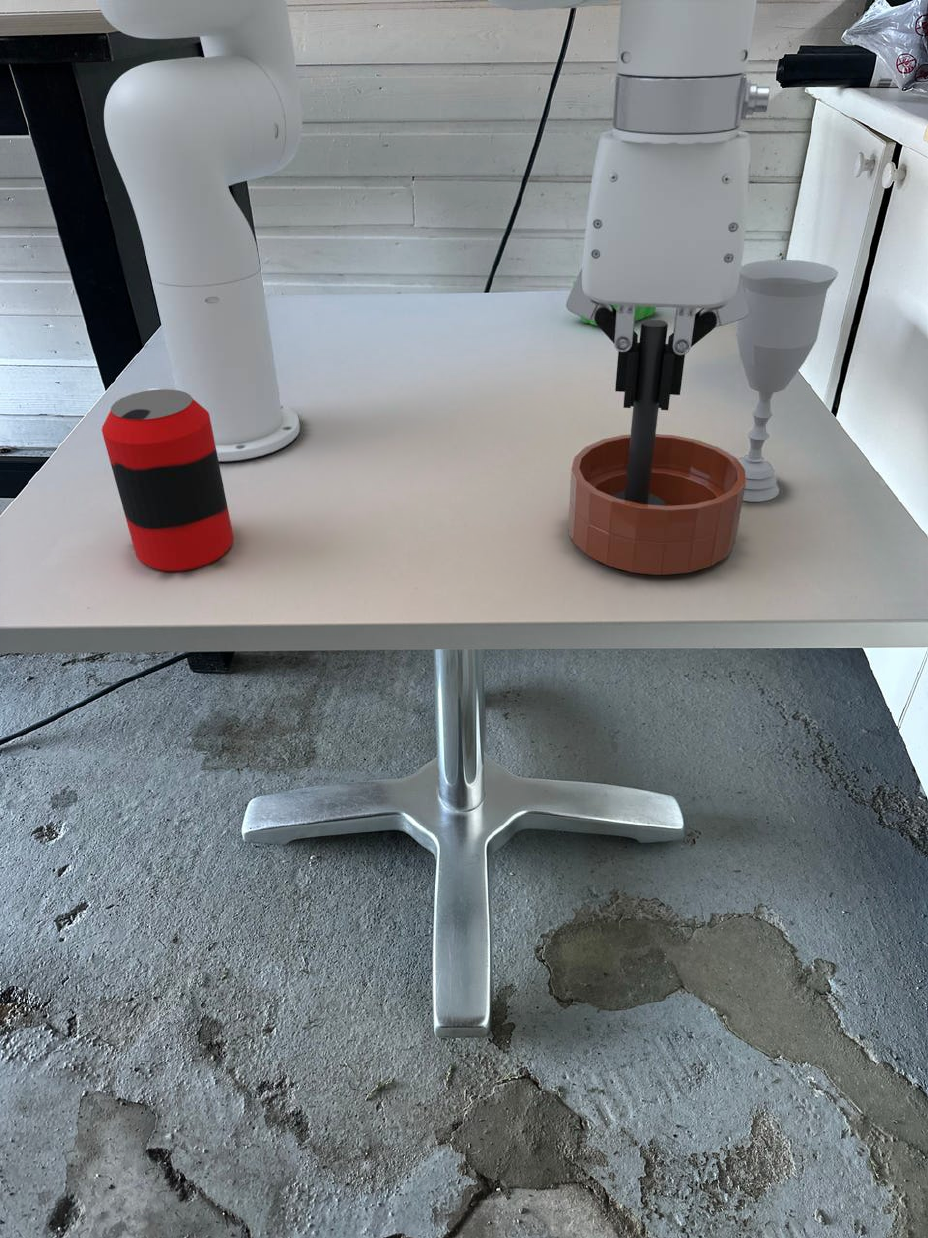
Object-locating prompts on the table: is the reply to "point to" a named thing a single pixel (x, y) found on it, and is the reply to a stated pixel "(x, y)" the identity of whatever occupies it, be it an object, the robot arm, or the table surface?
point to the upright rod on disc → (645, 414)
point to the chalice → (776, 346)
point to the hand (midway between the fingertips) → (646, 400)
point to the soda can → (168, 479)
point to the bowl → (657, 506)
